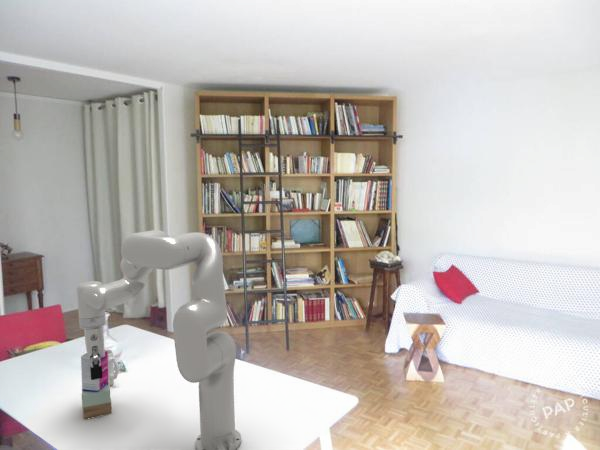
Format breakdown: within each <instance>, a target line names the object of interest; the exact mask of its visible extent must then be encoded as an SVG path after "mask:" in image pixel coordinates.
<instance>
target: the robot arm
mask: <svg viewBox="0 0 600 450" xmlns="http://www.w3.org/2000/svg"><path fill="white" fill-rule="evenodd" d="M120 252H121V253H120V254H121V256H122V259H121V261H120V265H119V266H120V271H121V272H122V273H123V275H124V276H123V277H122V278H121V279H119V280H118V279H117V280H115V281H111V282H108V283H104V284H103V283H102V282H101V281H97V280H93V281H91V280H90V281H85V282H82V283H79V284H78V285H77V288H76V294H77V295H76V296H77V310H78V323H79V328H80V329H82V330H83V333H84V341H85V342H84V343H85V350H86V353H87V355H88V359H89V360H91V367H90V371H91V380H95V379H100V378H102V365H101V361H100V356H101V357H105V349H106V348H105V338H104V337H105V335H104V327H103V326H105V325H106V324H107V323H106V321H107V319H106V311H107V310H108V309H112V308H115V307H116V306H117V307H118V306H120V305H123V304H125V303H128V302H131V301H132V300H134V299H135V298H136V297H137V296H138V295H139V294H140V293H141V292H142V291H143V289H144V288H145V287H146V285H147V282H148V281H147V280H148V276H149V274H151V273H152V272H153V270H154V269H157V270H163V271H164V270H166V271H167V270H174V269H178V268H182V267H185V266H186V267H187V266H189V265H192V264H193V265H194V266H195V267H194V270H193V273H192V277H191V288H192V300H191V301H189V302H186V303H184V304H182V305H181V306H180V307H179V308H177V310H176V311H175V314H174V316H173V321H172V328H173V329H172V330H173V339H174V340H173V341H174V342H173V343H174V347H175V358H176V364H177V365H176V366H177V368H178V372H179V373H180V375H181V376H182V377H183V379H185V380H186V381H187V382H189V383H193V384H197V383H198V404H199V406H198V408H199V425H200V428H199V429H200V434H199V435H198V436H197V437H196V439H195V442H194V444H195V449H196V450H236V449H238V448H239V446H240V445H241V442H242V436H241V433H240V432H239V430H236V422H235V421H236V420H235V417H236V415H235V414H236V413H235V392H234V391H235V385H234V384H235V383H234V380H235V379H234V378H235V377H234V375H235V374H234V373H235V363H236V357H237V356H236V355H237V349H236V348H237V346H236V343H235V341H234V339H233V337H232V336H231V335H230V333H228V332H225V331H215V330H217V329H218V328H221V327H222V326H223V325H224V324H225V322H226V321H227V317H228V308H227V300H226V290H225V282H224V267H223V266H224V263H223V262H224V261H223V260H224V259H223V254H222V249H221V247H220V246H219V244H218V242H217V241H216V240H215V238H213V237H212V236H211V235H209V234H207V233H203V232H199V231H198V232H194V231H193V232H187V233H181V234H177V235H176V234H175V235H171V236H170V235H169V234H168V233H166V231H163V230H159V229H152V230H147V231H139V232H134V233H130V234H129V235H128V236H126V237H125V239H123V241H122V244H121V247H120ZM98 353H99V356H98ZM92 356H93V357H92ZM98 359H99V360H98ZM93 360H94V361H93Z"/></svg>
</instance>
